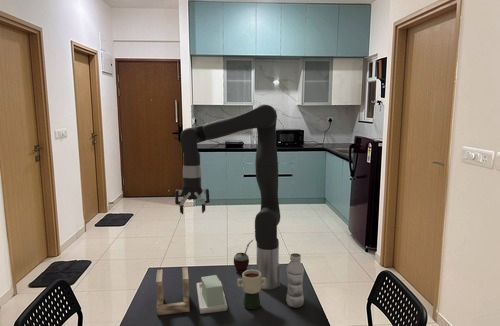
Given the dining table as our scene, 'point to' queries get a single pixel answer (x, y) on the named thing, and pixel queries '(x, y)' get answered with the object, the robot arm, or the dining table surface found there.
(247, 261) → the mate gourd
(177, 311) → the bay
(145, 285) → the dining table surface
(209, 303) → the green block with tab
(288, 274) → the plastic bottle
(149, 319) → the dining table surface
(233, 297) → the dining table surface
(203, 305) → the tray
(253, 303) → the character mug
